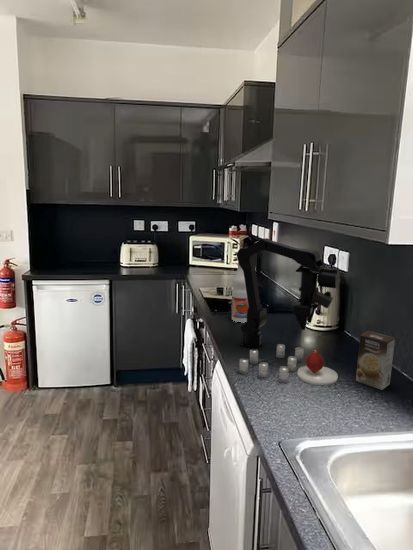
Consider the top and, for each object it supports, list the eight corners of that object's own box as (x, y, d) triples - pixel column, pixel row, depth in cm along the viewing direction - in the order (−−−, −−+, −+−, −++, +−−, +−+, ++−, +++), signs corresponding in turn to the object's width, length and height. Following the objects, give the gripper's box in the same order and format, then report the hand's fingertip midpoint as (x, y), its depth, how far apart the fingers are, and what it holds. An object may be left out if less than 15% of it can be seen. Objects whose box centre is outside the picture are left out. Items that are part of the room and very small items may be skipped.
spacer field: (237, 373, 142) (238, 360, 141) (260, 351, 161) (260, 340, 160) (286, 383, 135) (287, 370, 134) (303, 359, 154) (304, 348, 153)
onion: (310, 367, 144) (311, 345, 143) (325, 372, 141) (327, 349, 139) (302, 372, 140) (303, 350, 138) (318, 377, 136) (319, 354, 135)
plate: (292, 380, 137) (292, 376, 137) (302, 365, 149) (303, 362, 148) (333, 388, 131) (333, 385, 131) (340, 373, 143) (340, 369, 143)
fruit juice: (244, 316, 206) (245, 260, 200) (255, 321, 198) (256, 263, 192) (227, 319, 202) (228, 261, 196) (238, 324, 194) (239, 264, 188)
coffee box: (354, 381, 137) (358, 334, 134) (363, 375, 141) (367, 330, 138) (382, 390, 131) (387, 341, 127) (390, 384, 135) (395, 337, 132)
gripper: (326, 293, 139) (323, 337, 142) (336, 282, 156) (333, 322, 159) (293, 289, 144) (291, 332, 147) (306, 279, 161) (304, 318, 164)
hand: (306, 326), depth 154 cm, fingers open, 9 cm apart
